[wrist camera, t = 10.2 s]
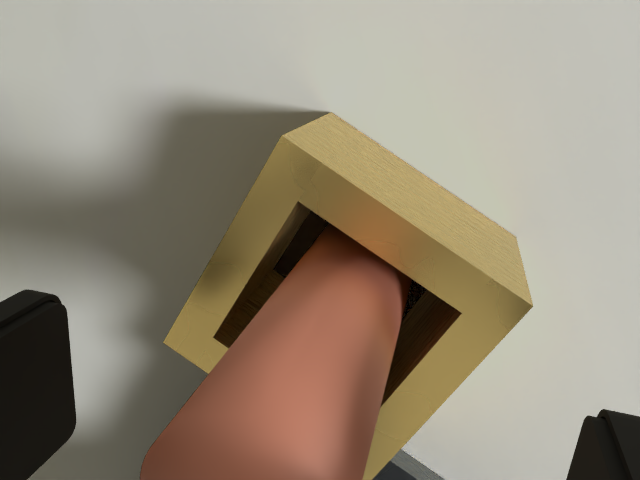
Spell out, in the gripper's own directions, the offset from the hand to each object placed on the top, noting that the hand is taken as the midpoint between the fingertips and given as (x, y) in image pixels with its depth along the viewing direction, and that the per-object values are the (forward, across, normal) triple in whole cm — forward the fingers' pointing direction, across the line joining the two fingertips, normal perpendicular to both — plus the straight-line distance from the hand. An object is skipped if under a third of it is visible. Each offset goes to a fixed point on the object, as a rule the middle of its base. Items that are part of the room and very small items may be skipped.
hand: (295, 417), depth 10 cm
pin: (+8, 0, 0) cm, 8 cm away
